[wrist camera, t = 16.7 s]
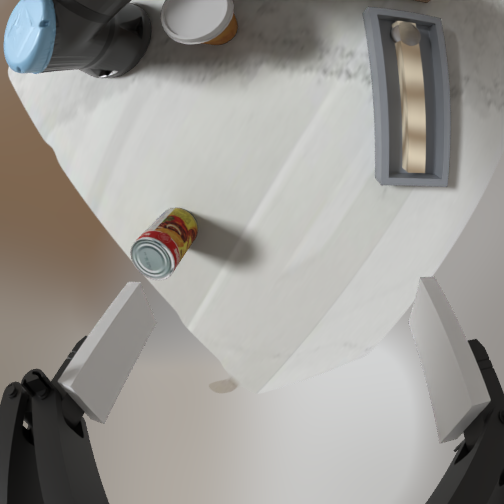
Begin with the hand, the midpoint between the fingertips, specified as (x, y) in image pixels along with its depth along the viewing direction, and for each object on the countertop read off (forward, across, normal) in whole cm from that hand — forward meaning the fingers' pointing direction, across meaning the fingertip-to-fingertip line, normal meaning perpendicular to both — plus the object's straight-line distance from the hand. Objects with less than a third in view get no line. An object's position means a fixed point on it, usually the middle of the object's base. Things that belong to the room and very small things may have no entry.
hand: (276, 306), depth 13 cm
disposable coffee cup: (+37, -9, +22) cm, 44 cm away
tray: (+37, +19, +9) cm, 42 cm away
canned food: (+37, -22, -12) cm, 45 cm away
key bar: (+36, +19, +9) cm, 42 cm away
